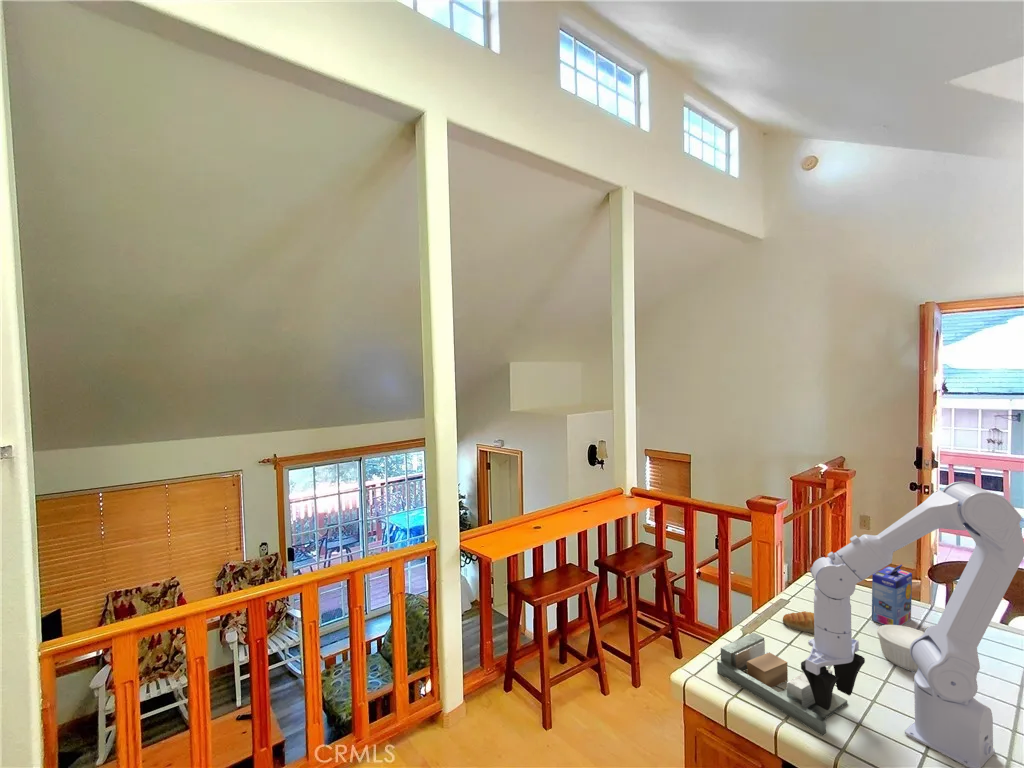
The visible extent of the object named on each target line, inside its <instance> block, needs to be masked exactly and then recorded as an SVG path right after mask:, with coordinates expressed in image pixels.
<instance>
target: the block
mask: <svg viewBox="0 0 1024 768" xmlns="http://www.w3.org/2000/svg"><path fill="white" fill-rule="evenodd" d="M746 672H747V673H746V674H748V675H749V676H751V677H753V678H755V679H756V680H758V681H760V682H762V683H763V684H765V685H767V686H769V687H770V688H772V689H774V688H775V687H777V686H780V685H782V684H783V683H787V682H789V679H788V677H789V676H788V662H787V661H786V660H784V659H782V658H781V657H778V656H777V655H775V654H773V653H771V652H767V653H765V654H764V655H762V656H759V657H757V658H754V659H752V660H749V661H747V669H746Z"/></svg>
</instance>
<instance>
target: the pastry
mask: <svg viewBox="0 0 1024 768" xmlns="http://www.w3.org/2000/svg"><path fill="white" fill-rule="evenodd" d="M782 623H783V624H785V625H786V626H787V627H788V628H790V629H793V630H798V631H800V632H803V633H808V632H809V633H810V634H814V612H811V611H804V610H803V611H799V612H791V613H785V614H784V615H783V617H782Z"/></svg>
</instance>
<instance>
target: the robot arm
mask: <svg viewBox="0 0 1024 768" xmlns="http://www.w3.org/2000/svg"><path fill="white" fill-rule="evenodd" d="M1022 519H1023V518H1022V515H1021V514H1020V513H1019V512H1018V511H1017V510H1016V509H1015V507H1014V506H1013V504H1011V503H1010V502H1009V500H1008V499H1006V498H1005V497H1003V496H1002V495H999V494H997V493H994V492H992V491H991V492H990V491H988V490H986V489H984V488H981V487H980V486H978V485H977V484H974V483H973V482H968V481H955V482H952V483H951V482H950V483H949V484H948V485H946V486H945V487H944V488H943V489H942V490H937V491H934V492H933V493H931V494H930V495H929V496H928V497H927V498H926V499H925V500H923V502H922V503H920V504H919V505H918V506H916V507H914V508H913V509H912V510H910V511H908V512H907V513H906V514H904V515H903V516H901V518H899V519H897V520H896V521H895V522H893V523H891V525H889V526H888V527H887V528H885V529H883V530H882V531H881V532H879V533H878V534H877V535H875V534H874V535H873V534H866V533H865V534H862V535H861V536H857V535H856V534H855V535H853V536H851V537H850V538H849V541H850V543H847V544H846V545H845V546H843V547H841V548H840V549H838V550H837V551H836V552H833V551H830V552H829V553H827V556H826V557H825V556H823V557H822V556H821V557H819V558H817V559H816V560H815V561H814V562H813V564H812V566H811V567H810V570H809V571H810V574H811V576H812V578H813V579H814V582H815V583H814V590H813V592H814V595H813V613H814V633H813V636H814V638H811V639H809V640H808V641H807V644H808V646H810V647H811V649H810V653H809V655H808V657H806V658H805V660H803V661H801V662H800V669H801V670H802V672H803V673H804V674H805V675H806V677H807V679H808V681H809V684H810V686H811V689H812V693H813V696H814V700H815V703H816V705H818V706H820V707H822V708H823V709H825V710H829V709H830V706H831V700H832V693H834V691H833V690H834V688H835V687H836V689H837V691H840V693H844V694H845V695H846V696H848V697H850V696H851V695H852V693H853V691H854V690H853V689H854V686H855V683H856V679H857V678H858V677H857V676H858V674H859V672H860V670H861V668H862V667H863V666H864V664H865V662H866V658H865V657H864V656H862V655H860V654H858V653H857V652H859V650H860V649H859V647H860V646H859V644H860V643H859V640H857V639H855V638H852V637H853V636H852V605H851V597H852V596H853V594H854V592H855V591H856V587H857V584H858V583H860V582H862V581H864V580H867V578H869V577H872V575H873V574H874V573H876V572H878V571H881V570H883V569H884V568H886V567H888V566H889V565H891V564H892V563H893V556H894V552H896V551H898V550H900V549H902V548H904V547H906V546H908V545H910V544H912V543H913V542H915V541H918V540H919V539H921V538H923V537H925V536H926V535H928V534H931V533H932V532H934V531H936V530H939V529H941V530H943V529H944V530H952V531H953V530H954V531H967V532H968V534H969V535H970V538H972V539H973V541H974V543H975V547H974V548H973V551H972V552H971V555H970V556H969V559H968V561H967V563H966V565H965V567H964V569H963V571H962V573H961V575H960V577H959V578H958V579H959V580H958V581H957V584H956V585H955V587H954V589H953V591H952V593H951V595H950V597H949V599H948V602H947V603H946V605H945V607H944V610H943V611H942V614H941V616H940V618H938V619H939V620H938V622H937V623H936V624H934V625H931V626H928V627H927V628H926V629H925V631H924V632H925V633H924V634H923V635H922V636H921V637H919V638H917V639H915V640H914V641H913V642H912V643H911V646H910V655H911V657H912V659H913V661H914V662H915V663H916V664H917V665H918V670H917V672H915V674H914V677H913V681H914V683H913V684H914V685H913V686H914V687H913V689H914V692H913V693H914V696H913V697H914V721H913V723H911V724H910V726H908V727H907V728H906V729H905V730H904V734H905V735H906V736H908V737H909V738H912V739H914V740H915V741H918V742H919V743H921V744H924V745H925V746H926V747H929V748H931V749H932V750H934V751H936V752H938V753H940V754H942V755H944V756H946V757H948V758H950V759H952V760H954V761H955V762H958V764H959V763H960V764H961V765H963V766H965V767H967V768H982V767H983V766H984V765H985V764H986V762H988V760H989V759H990V758H991V757H992V756H993V755H994V754H995V753H996V750H995V748H994V723H993V722H994V721H993V720H994V719H993V713H992V709H991V708H990V707H988V706H987V705H985V704H984V703H982V702H980V701H978V700H977V699H976V698H974V697H975V696H976V695H977V693H978V689H979V688H978V686H979V685H978V681H977V676H978V673H979V671H980V669H981V668H980V667H981V666H980V665H981V664H980V659H979V653H978V648H979V645H980V643H981V641H982V640H983V637H984V635H985V633H986V631H987V630H988V628H989V626H990V624H991V621H992V619H993V618H994V616H995V614H996V612H997V610H998V609H999V605H1000V604H1001V603H1002V600H1003V598H1004V596H1005V594H1006V592H1007V591H1008V589H1009V587H1010V585H1011V582H1012V581H1013V579H1014V576H1016V573H1017V571H1018V569H1019V567H1020V565H1021V564H1022V562H1023V560H1024V538H1023V533H1022V529H1021V526H1020V522H1021V521H1022ZM829 666H833V671H834V672H833V673H834V674H833V673H832V674H831V673H829V671H828V670H827V669H828V667H829ZM835 685H836V686H835Z"/></svg>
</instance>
